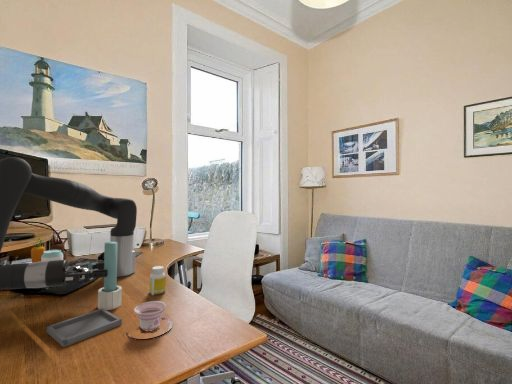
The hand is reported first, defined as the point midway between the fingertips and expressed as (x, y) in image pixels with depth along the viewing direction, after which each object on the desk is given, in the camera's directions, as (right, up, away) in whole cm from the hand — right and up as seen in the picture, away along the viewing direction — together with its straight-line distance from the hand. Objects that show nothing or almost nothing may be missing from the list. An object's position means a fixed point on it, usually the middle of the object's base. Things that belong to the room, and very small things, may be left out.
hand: (109, 268), depth 88 cm
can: (-35, -11, +23) cm, 44 cm away
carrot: (-48, -11, +32) cm, 59 cm away
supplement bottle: (+11, -13, +12) cm, 21 cm away
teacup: (+17, -14, -12) cm, 25 cm away
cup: (0, -12, 0) cm, 13 cm away
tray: (+1, -13, -14) cm, 19 cm away
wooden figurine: (-45, -11, +40) cm, 61 cm away
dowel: (0, -12, 0) cm, 12 cm away
